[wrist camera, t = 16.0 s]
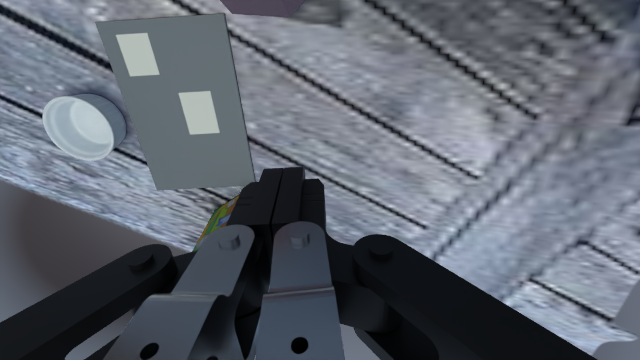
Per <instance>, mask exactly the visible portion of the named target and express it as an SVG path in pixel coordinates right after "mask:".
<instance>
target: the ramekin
mask: <svg viewBox="0 0 640 360" xmlns="http://www.w3.org/2000/svg"><path fill="white" fill-rule="evenodd" d="M43 124H44V127H45V130H46V132H47V134H48V135H49V137H50V139H51V140H52V141H53V142H54V143H55V144H56V145H57V146H58V147H59V148H60V149H61V150H63V151H64V152H66V153H67V154H69V155H71V156H73V157H76V158H78V159H82V160H88V161H94V160H99V159H103V158H104V157H106V156H107V155H109V154H110V153H111V151H112V150H113V149H114V148H115V147H117V146H118V145H119V144H120V143H121V142H122V141H123V139H124V138H125V135H126V123H125V119H124V117H123V115H122V114H121V112H120V111H119V109H118V108H117V107H116V106H115V105H114V104H113V103H111V102H110V101H109V100H107V99H105V98H103V97H101V96H98V95H95V94H79V95H74V96H61V97H57V98H54V99H52V100H51V101H49V102H48V103H47V104H46V106H45V108H44V111H43Z"/></svg>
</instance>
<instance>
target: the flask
mask: <svg viewBox="0 0 640 360" xmlns="http://www.w3.org/2000/svg"><path fill="white" fill-rule="evenodd" d="M220 1H221V2H222V3H223V4H224V5H225V6H226V7H227V9H228V10H229V11H230V12H231V13H232V14H245V15H261V16H276V17H290V16H291V15H292V14H293V13H294V12H295V11H296V10H297V8H298V7H299V6H300V5H301V4H302V3H303V2H304V1H305V0H220Z"/></svg>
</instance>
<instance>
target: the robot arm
mask: <svg viewBox="0 0 640 360" xmlns="http://www.w3.org/2000/svg"><path fill="white" fill-rule="evenodd" d="M269 285H270V288H269ZM268 291H269V292H268ZM128 311H130V312H131V314H132V316H133V318H132V319H131V321H130V322H129V323H128V325H127V327H126V328H125V329H124V330H123V332H122V333H121V334H120V335H119V336H117V337H116V338H115V339H113V340H112V341H110V342H109V343H108V344H107V345H105V346H103V347H102V348H101V349H99V350H98V351H96V352H95V353H93V354H92V355H91V356H89V357H88V358H86V359H84V360H254V359H255V356H256V359H255V360H345V356H344V349H343V343H342V336H341V329H340V324H344V325H348V326H351V327H354V330H355V333H356V334H357V336H358V337H359V338H360V339H361V340H362V341H363V342H364V343H365V344H366V345H367V346H368V347H369V348H370V349H371V350H372V351H373V352H374V353H375V354H376V355H377V356H378V357H379V358H380V359H381V360H597V359H595V358H594V357H592V356H590V355H589V354H587V353H585V352H584V351H582V350H580V349H579V348H577V347H575V346H574V345H572V344H570V343H569V342H567V341H566V340H564V339H562V338H561V337H559V336H557V335H556V334H554V333H552V332H551V331H549V330H547V329H546V328H544V327H542V326H541V325H539V324H537V323H536V322H534V321H532V320H531V319H529V318H527V317H526V316H524V315H522V314H521V313H519V312H517V311H516V310H514V309H512V308H511V307H509V306H507V305H506V304H504V303H502V302H501V301H499V300H497V299H496V298H494V297H492V296H491V295H489V294H487V293H486V292H484V291H482V290H481V289H479V288H478V287H476V286H474V285H473V284H471V283H469V282H468V281H466V280H464V279H463V278H461V277H459V276H458V275H456V274H454V273H453V272H451V271H449V270H448V269H446V268H444V267H443V266H441V265H439V264H438V263H436V262H434V261H433V260H431V259H429V258H428V257H426V256H424V255H423V254H421V253H419V252H418V251H416V250H414V249H413V248H411V247H409V246H408V245H406V244H404V243H403V242H401V241H399V240H398V239H396V238H394V237H391V236H387V235H381V234H374V235H368V236H365V237H363V238H361V239H359V240H358V241H357V242H356V243H355V245H354V246H353V245H348V244H343V243H340V242H338V241H336V240H334V239H332V238H331V237H330V236H329V235H328V234H327V232H326V211H325V195H324V185H323V184H322V182H321V181H320V180H319V179H305V169H304V167H290V168H272V169H264V170H263V173H262V175H261V178H260V181H259V182H250V183H249V184H248V185H247V186H246V187H244V188H243V189H242V191H241V193H240V195H239V197H238V199H237V202H236V204H235V206H234V208H233V210H232V213H231V215H230V217H229V219H228V221H227V224H226V226H225V227H222V228H219V229H217V230H215V231H214V232H212V233H211V234H210V235H209V236H207V238H206V239H205V240H204V242H203V243H202V245H201V247H200V248H199V250H197V251H194V252H190V253H187V254H184V255H179V256H176V257H173V255H172V252H171V250H170V249H169V248H168V247H167V246H165V245H161V244H152V245H147V246H143V247H140V248H138V249H135V250H133V251H131V252H129V253H127V254H125V255H124V256H122V257H120V258H118V259H116V260H114V261H113V262H111V263H109V264H107V265H105V266H103V267H102V268H100V269H98V270H96V271H94V272H92V273H91V274H89V275H87V276H85V277H83V278H81V279H80V280H78V281H76V282H74V283H72V284H70V285H69V286H67V287H65V288H63V289H61V290H60V291H57V292H56V293H54V294H52V295H50V296H48V297H46V298H45V299H43V300H41V301H39V302H37V303H36V304H34V305H32V306H30V307H28V308H26V309H24V310H23V311H21V312H19V313H17V314H15V315H13V316H12V317H10V318H8V319H6V320H4V321H2V322H1V323H0V360H65V359H64V358H65V357H66V355H67V354H68V353H69V352H70V351H71V350H72V349H73V348H74V347H76V346H78V345H79V344H81V343H82V342H84V341H85V340H87V339H88V338H90V337H91V336H92V335H94V334H95V333H97V332H98V331H100V330H101V329H103V328H104V327H106V326H107V325H109V324H110V323H112V322H113V321H114V320H116V319H118V318H119V317H121V316H122V315H124V314H125V313H127V312H128Z"/></svg>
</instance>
